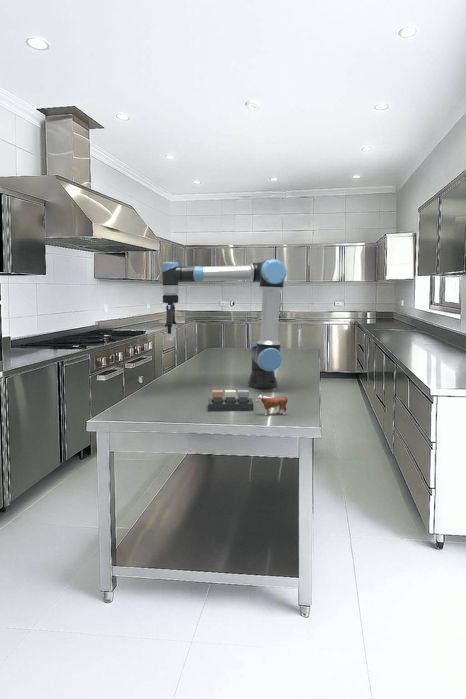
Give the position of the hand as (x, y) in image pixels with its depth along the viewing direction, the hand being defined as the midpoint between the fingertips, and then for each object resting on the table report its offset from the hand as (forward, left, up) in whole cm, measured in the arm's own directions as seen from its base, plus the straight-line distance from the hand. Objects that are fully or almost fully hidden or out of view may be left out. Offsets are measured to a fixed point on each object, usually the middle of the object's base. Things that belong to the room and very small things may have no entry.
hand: (171, 339), depth 266 cm
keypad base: (-27, +32, -26) cm, 50 cm away
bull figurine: (-44, +44, -27) cm, 68 cm away
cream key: (-27, +32, -24) cm, 49 cm away
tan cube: (-22, +32, -24) cm, 46 cm away
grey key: (-33, +32, -24) cm, 52 cm away
